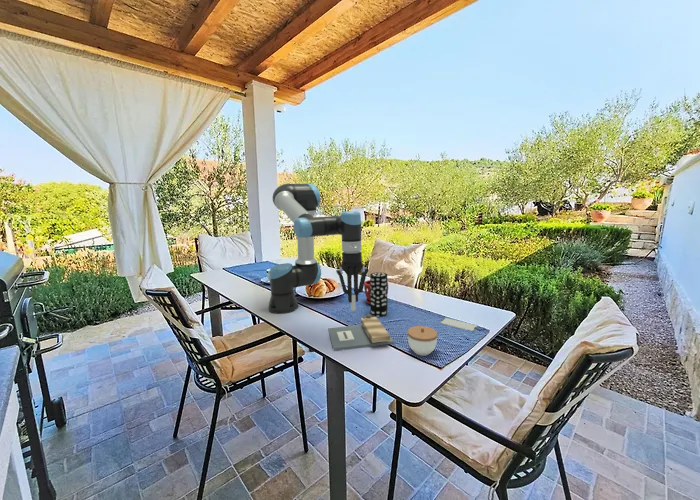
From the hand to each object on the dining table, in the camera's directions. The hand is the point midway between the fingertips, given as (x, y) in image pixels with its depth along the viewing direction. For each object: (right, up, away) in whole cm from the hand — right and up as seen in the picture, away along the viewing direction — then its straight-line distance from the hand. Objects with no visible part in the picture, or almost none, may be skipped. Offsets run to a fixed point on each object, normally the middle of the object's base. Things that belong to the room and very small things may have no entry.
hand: (353, 309), depth 118 cm
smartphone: (+48, -10, +15) cm, 51 cm away
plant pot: (+13, -5, +44) cm, 46 cm away
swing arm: (+9, -9, +5) cm, 14 cm away
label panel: (+3, -12, +5) cm, 14 cm away
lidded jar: (+26, -14, -8) cm, 30 cm away
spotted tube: (+13, -8, +29) cm, 33 cm away
